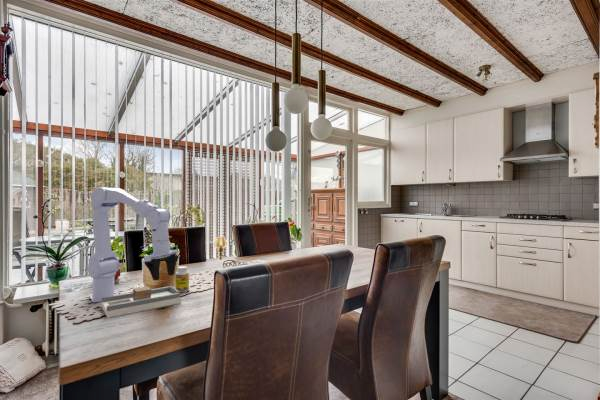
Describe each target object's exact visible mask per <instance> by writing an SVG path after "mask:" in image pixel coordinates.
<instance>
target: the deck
mask: <svg viewBox="0 0 600 400" xmlns="http://www.w3.org/2000/svg"><path fill="white" fill-rule="evenodd" d="M150 289H151V298H147V299H141V300H136V301H134V300H133V291H132V292H128V293H121V294H115V295H113V296H107V297H102V301H100V303H101V304H100V306H101V309H102V311H103V312H104V314H105V316H106V318H107V319H109V318H115V317H118V316H122V315H123V316H124V315H128V314H133V313H139V312H144V311H148V310H152V309H158V308H163V307H164V308H165V307H169V306H173V305H178V304H181V303H182V297H181V292H179V291H178V290H176V289H175V287H174V286H172V285H169V286H163V287H158V288H150Z"/></svg>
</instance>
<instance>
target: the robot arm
mask: <svg viewBox="0 0 600 400" xmlns="http://www.w3.org/2000/svg"><path fill="white" fill-rule="evenodd" d="M90 202H91V203H90V204H91V216H92V217H91V219H92V227H93V228H92V229H93V242H94V253H93V254H92V255H91V256H90V257H89V258H88V264H87V265H88V266H87V273H88V275H89V276H90V277H91V278H92V294H90V295H89V297H90V300H91V302H92V303H98V302H101V301H102V297H107V296H113V295H116V294H115V283H114V275H115V274H116V272H117V271H118V270H119V269H120V266H121V265H120V261H119V258H118V254H117V252H116V253H114V252H113V251H114V250H112V242H111V231H110V230H111V229H110V219H109V218H110V217H109V212H110V211H111V209H113V208H115V207H116V206H118V205H119V204H124V205H127V206H128V207H130V208H131V209H133V212H134V213H135V214H137V215H138V216H141V217H142V218H144V219H145V220H146V222H147V223H148V225H149V229H150V230H151V233H150V234H151V243H152V252H153V253H151V254H148V255H144V265H145V266H146V268H147V269H148V271H149V273H150V275H151V277H152V280H153V281H159V280H160V268H161V267H160V265H161V262H162V260H159V259H163V260H164V262H165V265H166V271H167V275H168V276H174V275H175V272H176V271H175V270H176V265H177V264H178V263H177V262H178V260H179V258H180V256H179V254H178V253H179V252H178V249H171V246H170V236H169V224H168V223H169V222H170V220H171V213H170V211H169V210H168V209H167V208H160V207H159V206H158V205H155V204H153V203H151V202H150V200H148V199H140V200H139V199H137V198H136V197H134V196H132V195H131V194H129V193H128V192H127V191H126V190H124V189H122V188H120V187H102V186H97V187H95V188H94V189H93V190H92V191H91V192H90Z"/></svg>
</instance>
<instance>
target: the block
mask: <svg viewBox="0 0 600 400" xmlns="http://www.w3.org/2000/svg"><path fill="white" fill-rule="evenodd" d="M151 289H152V288H151V287H149V285H148V286H140V287H133V288H132V292H133V300H134V301H136V300H141V299H147V298H151Z"/></svg>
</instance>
